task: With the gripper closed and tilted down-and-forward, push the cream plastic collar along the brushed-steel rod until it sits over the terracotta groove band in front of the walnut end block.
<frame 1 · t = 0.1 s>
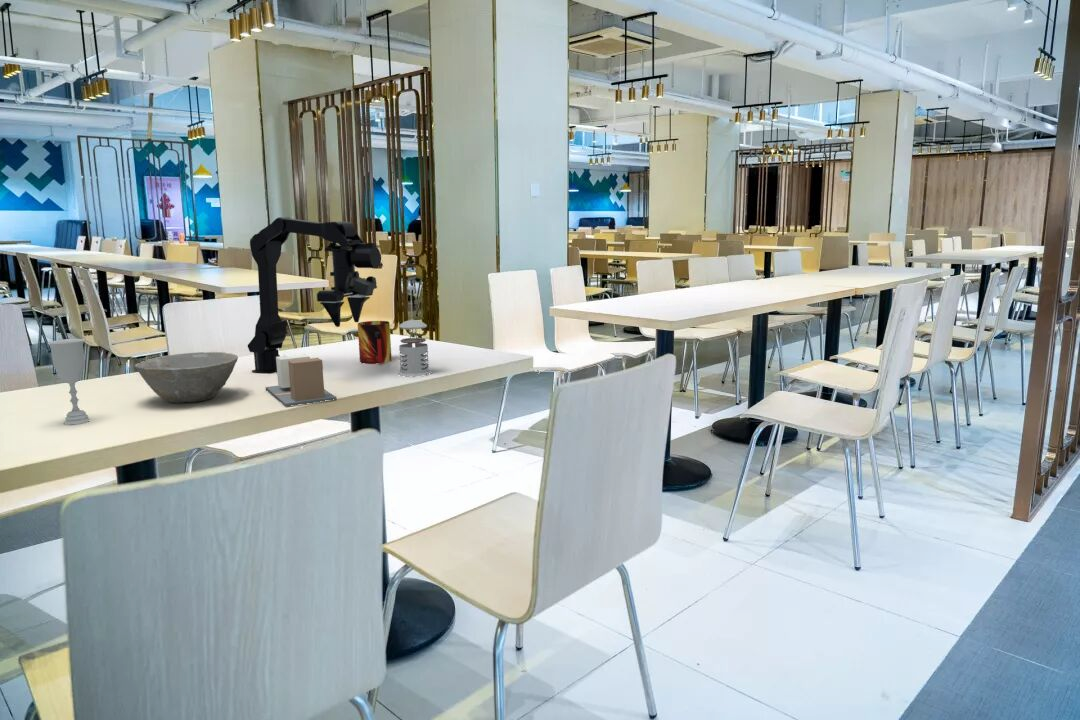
hand: (347, 324, 206), 15 cm above the table, tool pointing down, fingers open, 9 cm apart
rod stand: (296, 392, 189), on the table
chalice: (77, 422, 164), on the table
sleeve: (293, 370, 189), point 5 cm above the table, slide at 0.0 cm
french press: (414, 373, 212), on the table
ceramic bowl: (191, 400, 184), on the table
mug: (379, 362, 230), on the table
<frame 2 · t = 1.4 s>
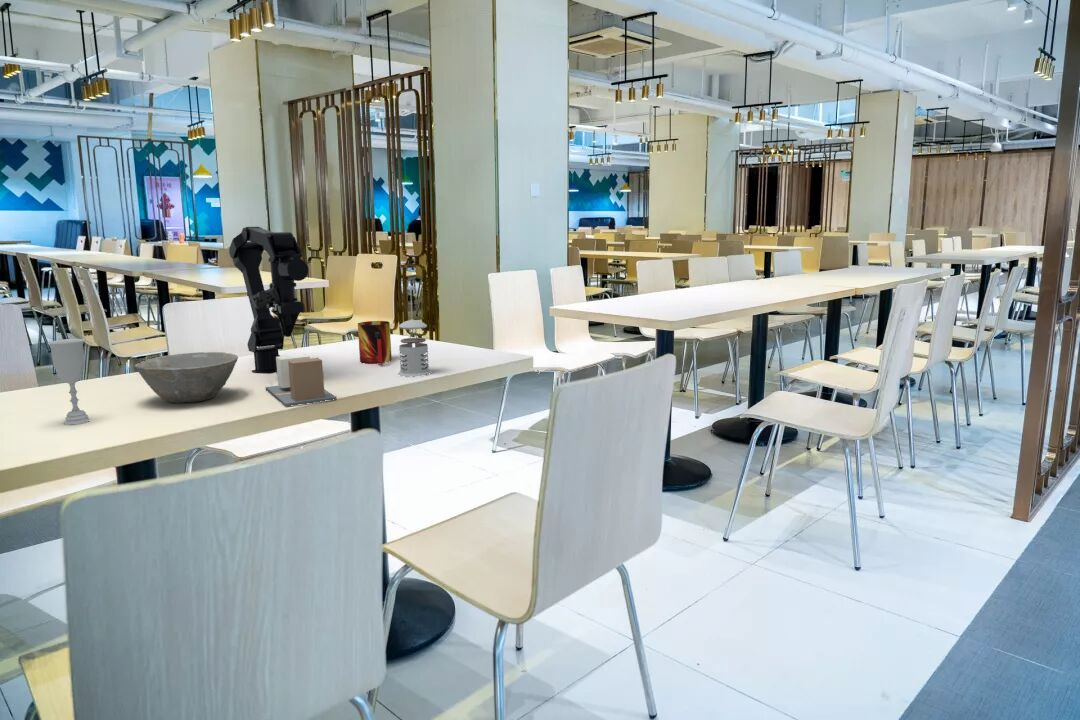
hand: (287, 336, 204), 12 cm above the table, tool pointing down, fingers closed
nothing on the table moved.
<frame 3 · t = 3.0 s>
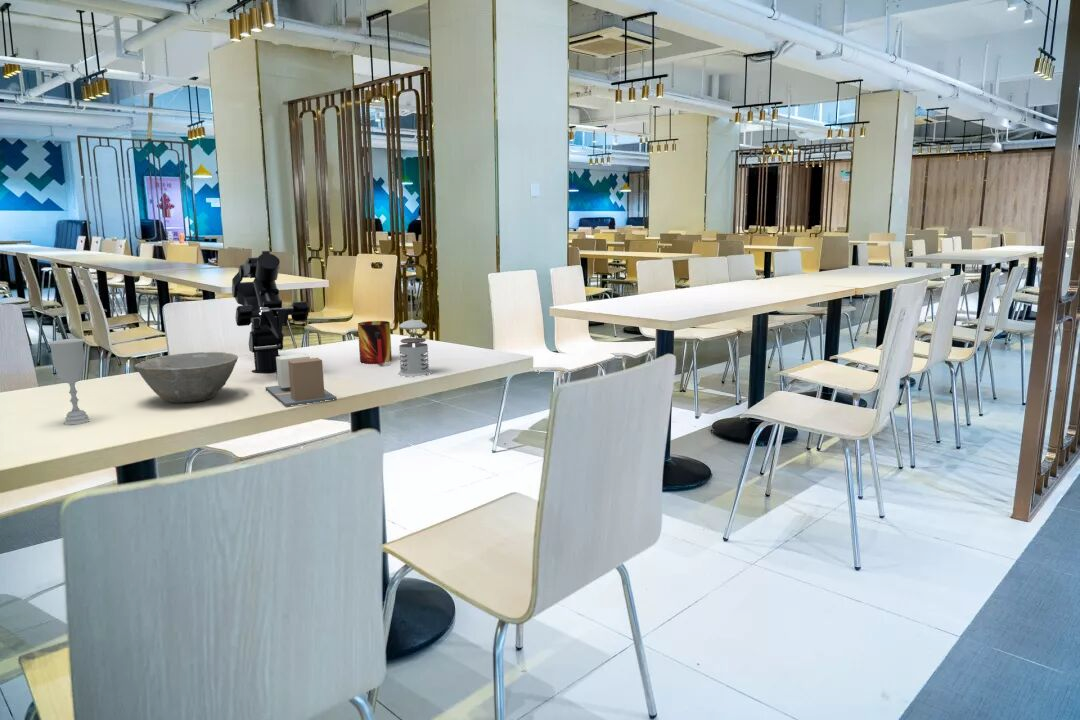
hand: (279, 337, 199), 12 cm above the table, tool tilted 45°, fingers closed
nothing on the table moved.
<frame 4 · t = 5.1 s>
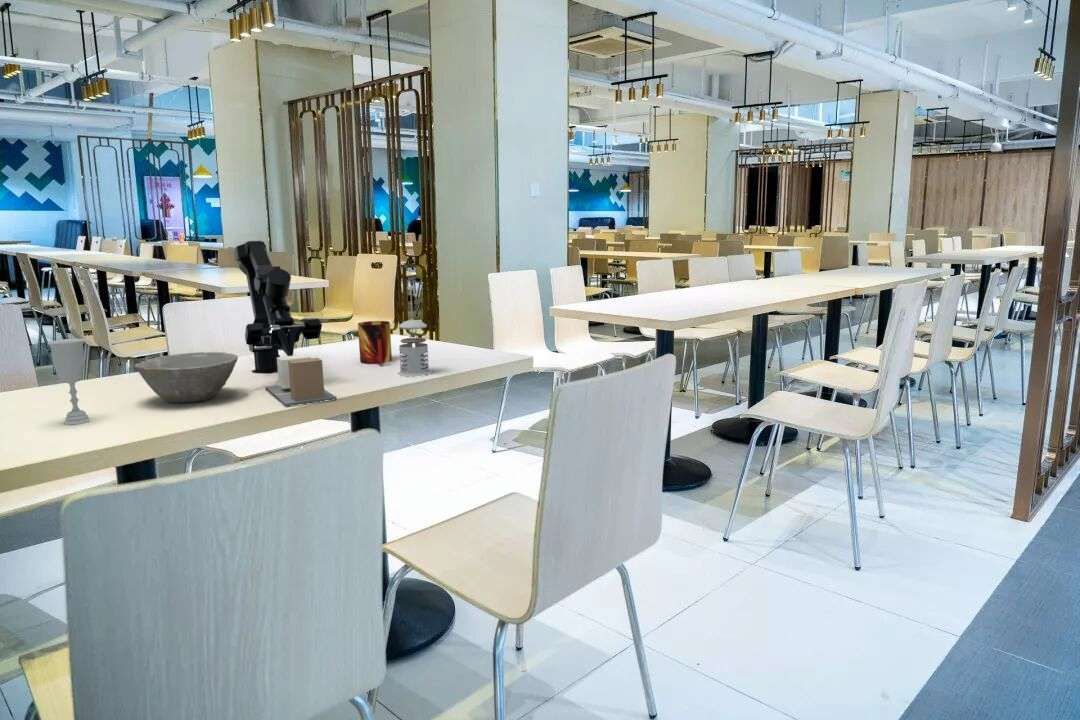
hand: (291, 356, 190), 9 cm above the table, tool tilted 45°, fingers closed, pressing on sleeve
sleeve: (294, 371, 188), point 5 cm above the table, slide at 1.0 cm, touching gripper
everything else where it was.
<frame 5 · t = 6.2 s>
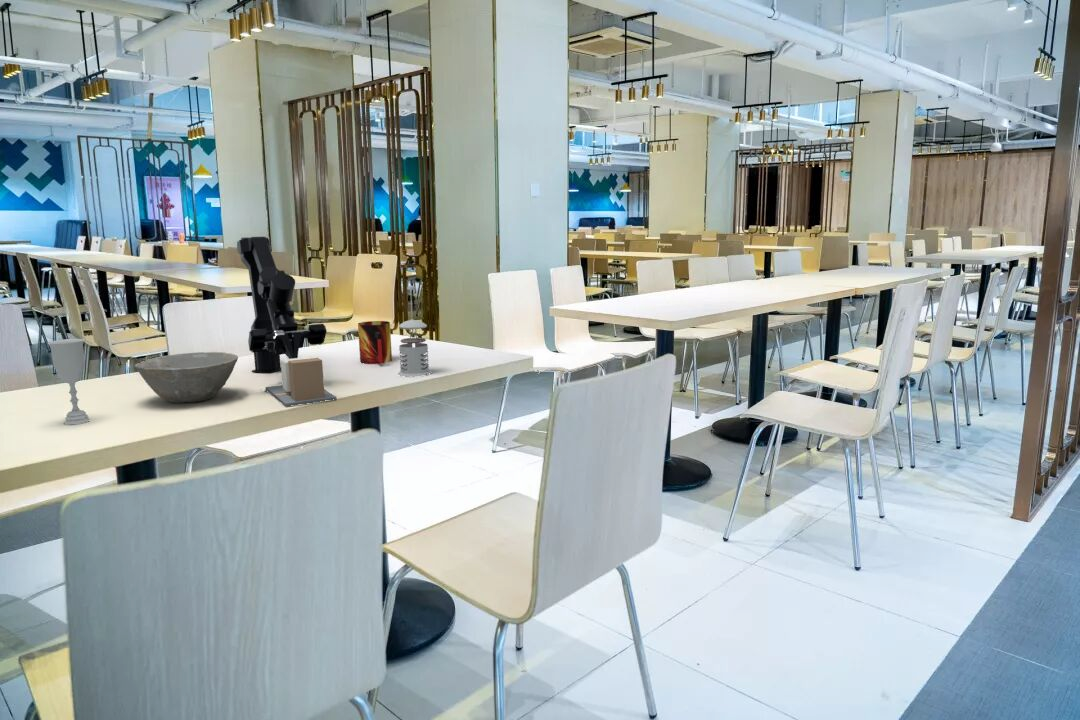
hand: (295, 362, 187), 8 cm above the table, tool tilted 45°, fingers closed, pressing on sleeve
sleeve: (298, 373, 185), point 5 cm above the table, slide at 5.2 cm, touching gripper
everything else where it was.
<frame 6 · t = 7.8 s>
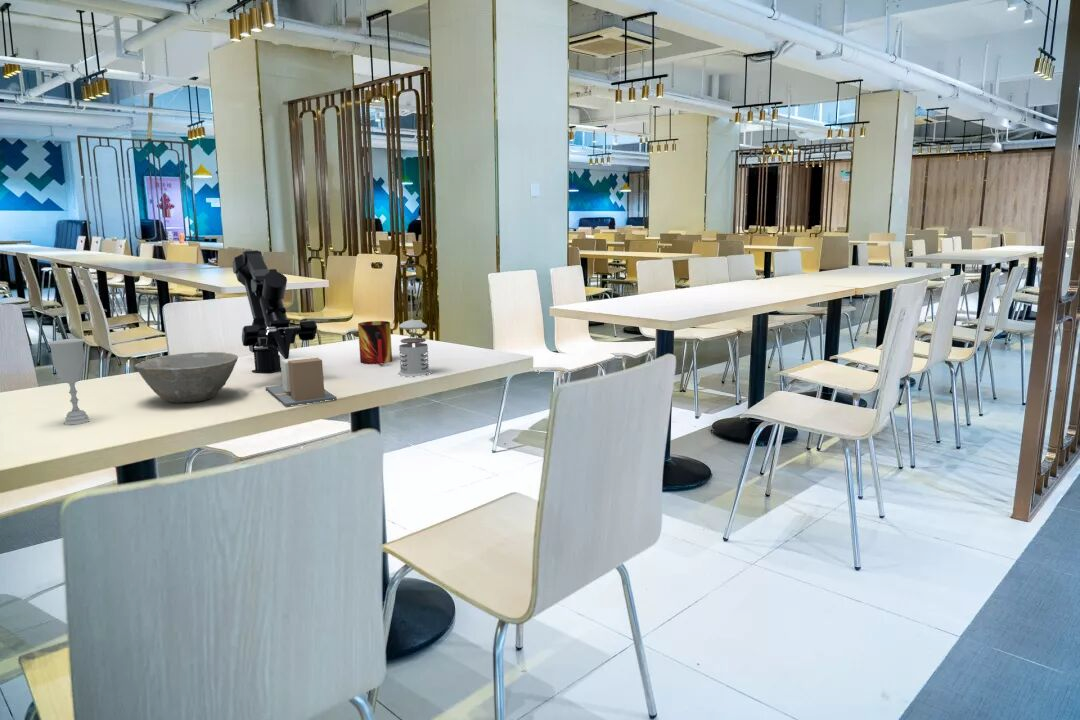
hand: (286, 358, 194), 8 cm above the table, tool tilted 45°, fingers closed
sleeve: (298, 373, 185), point 5 cm above the table, slide at 5.2 cm
everything else where it was.
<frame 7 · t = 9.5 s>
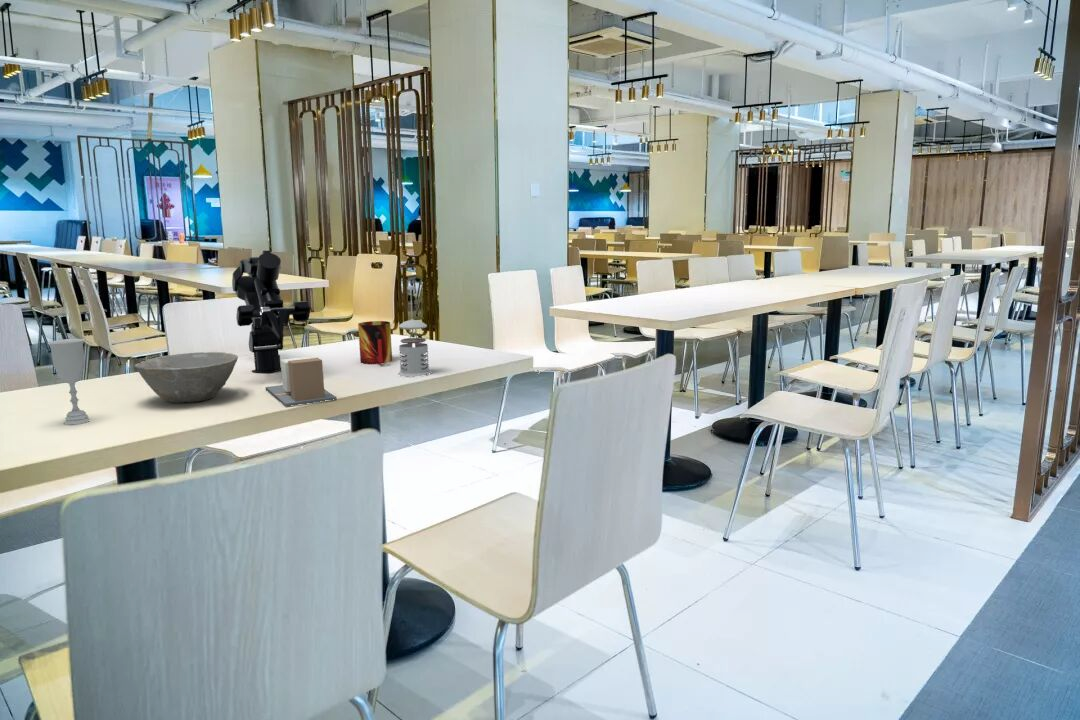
hand: (280, 337, 198), 13 cm above the table, tool tilted 45°, fingers closed
nothing on the table moved.
at the end: sleeve slide at 5.2 cm; sleeve moved 5.2 cm from its start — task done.
